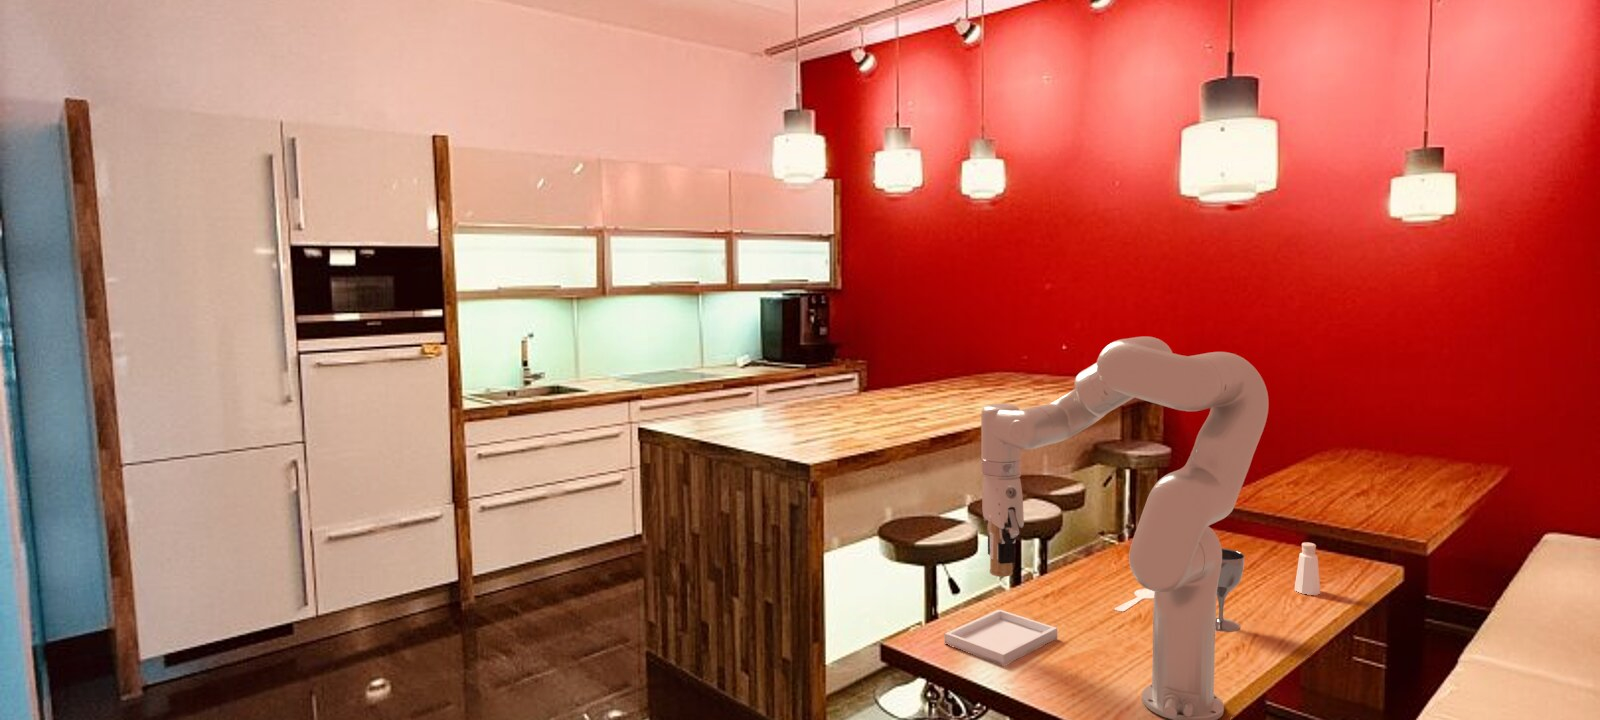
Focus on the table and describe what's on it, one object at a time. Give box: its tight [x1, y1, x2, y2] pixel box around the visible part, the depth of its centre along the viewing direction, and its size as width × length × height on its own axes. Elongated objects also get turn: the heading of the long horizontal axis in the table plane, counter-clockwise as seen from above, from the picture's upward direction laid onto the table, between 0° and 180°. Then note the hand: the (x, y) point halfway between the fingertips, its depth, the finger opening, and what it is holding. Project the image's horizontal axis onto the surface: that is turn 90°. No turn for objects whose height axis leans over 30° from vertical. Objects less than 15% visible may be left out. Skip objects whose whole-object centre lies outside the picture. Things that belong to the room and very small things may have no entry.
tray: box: [944, 609, 1058, 667], centre depth 177 cm, size 18×14×2 cm
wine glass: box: [1215, 547, 1245, 633], centre depth 182 cm, size 8×8×15 cm
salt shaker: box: [1294, 541, 1321, 596], centre depth 200 cm, size 5×5×11 cm
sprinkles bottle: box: [989, 515, 1014, 578], centre depth 175 cm, size 5×5×13 cm
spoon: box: [1114, 587, 1155, 612], centre depth 197 cm, size 5×18×1 cm, turn 133°
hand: (1001, 557), depth 175 cm, fingers closed on sprinkles bottle, 4 cm apart
